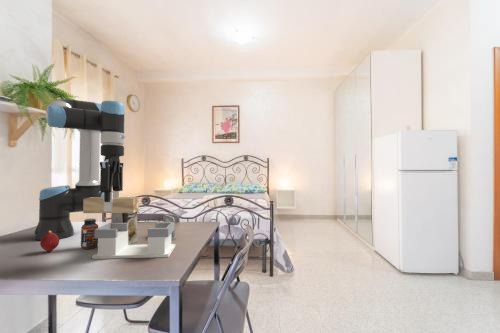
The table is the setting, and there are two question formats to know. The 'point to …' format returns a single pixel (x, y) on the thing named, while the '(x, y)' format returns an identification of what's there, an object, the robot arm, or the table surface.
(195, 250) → the table surface
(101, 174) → the robot arm
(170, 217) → the handheld gaming console
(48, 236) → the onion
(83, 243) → the supplement bottle
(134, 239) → the coffee box
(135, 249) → the bracket stand
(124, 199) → the rail
